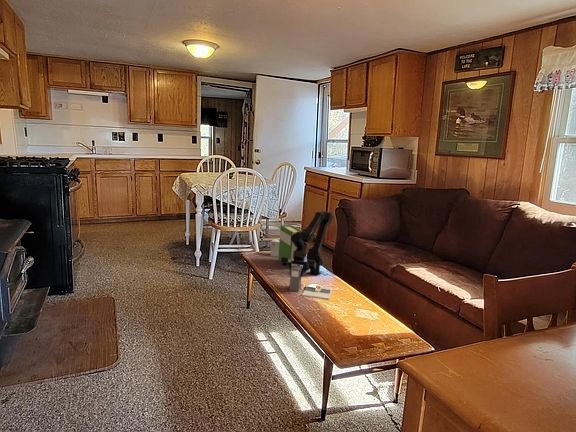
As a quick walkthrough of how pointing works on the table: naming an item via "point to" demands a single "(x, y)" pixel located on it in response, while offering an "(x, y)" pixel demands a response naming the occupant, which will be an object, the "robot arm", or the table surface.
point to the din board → (318, 293)
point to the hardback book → (287, 242)
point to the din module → (295, 278)
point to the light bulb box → (275, 247)
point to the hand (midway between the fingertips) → (295, 277)
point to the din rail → (315, 289)
